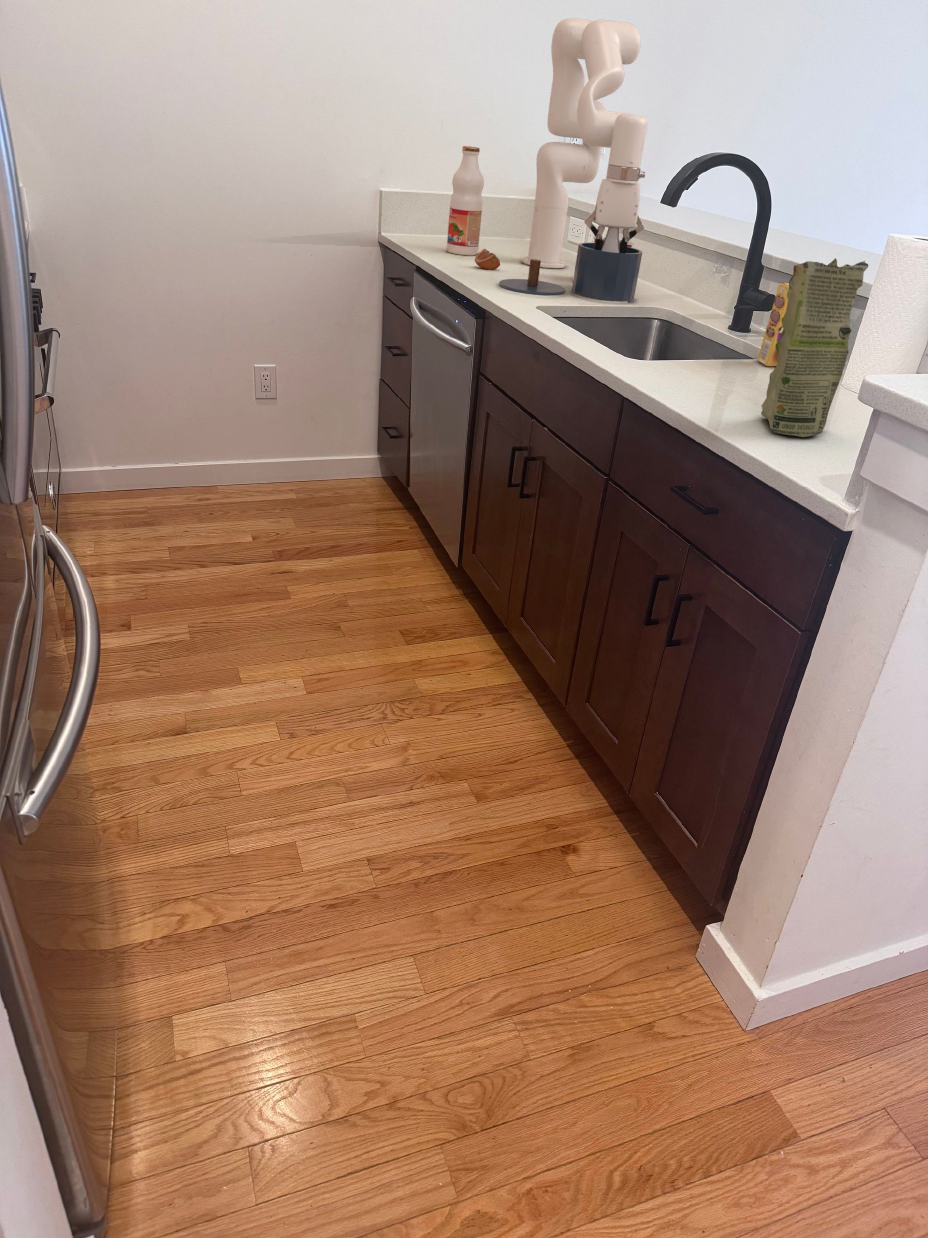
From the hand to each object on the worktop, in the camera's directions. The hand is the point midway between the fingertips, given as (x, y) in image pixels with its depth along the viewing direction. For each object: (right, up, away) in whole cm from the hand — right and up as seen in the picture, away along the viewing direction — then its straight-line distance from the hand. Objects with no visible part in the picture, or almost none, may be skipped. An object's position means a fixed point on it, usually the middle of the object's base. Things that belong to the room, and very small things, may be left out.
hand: (609, 256), depth 216 cm
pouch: (+15, -59, -78) cm, 99 cm away
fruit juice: (-36, +20, +46) cm, 62 cm away
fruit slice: (-30, +5, +23) cm, 38 cm away
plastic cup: (+2, 0, +19) cm, 19 cm away
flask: (0, -2, +1) cm, 2 cm away
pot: (-1, -8, +5) cm, 10 cm away
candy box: (+28, -39, -41) cm, 63 cm away
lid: (-19, -7, +3) cm, 20 cm away
